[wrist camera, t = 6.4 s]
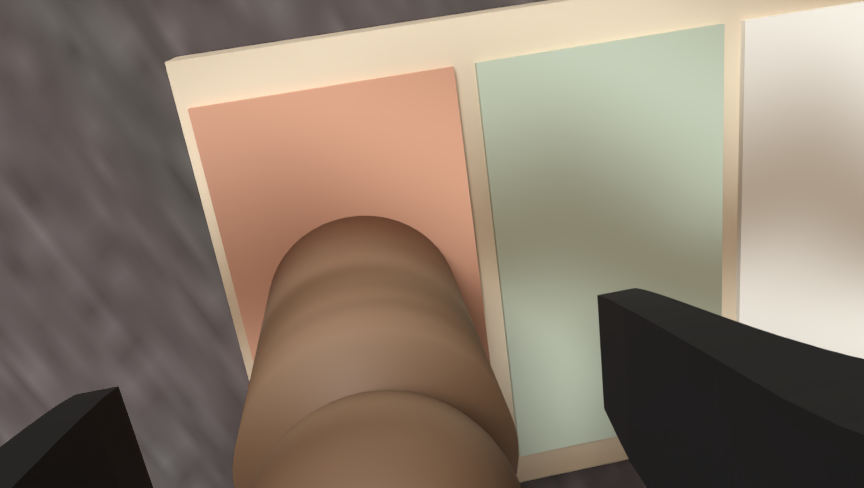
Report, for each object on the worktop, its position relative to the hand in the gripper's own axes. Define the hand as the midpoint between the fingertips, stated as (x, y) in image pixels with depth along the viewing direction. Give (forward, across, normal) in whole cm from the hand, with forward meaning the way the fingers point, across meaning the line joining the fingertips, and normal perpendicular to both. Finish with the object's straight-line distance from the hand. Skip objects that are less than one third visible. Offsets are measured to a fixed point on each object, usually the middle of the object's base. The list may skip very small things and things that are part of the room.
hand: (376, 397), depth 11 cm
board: (+4, -5, 0) cm, 7 cm away
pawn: (+3, 0, 0) cm, 3 cm away
